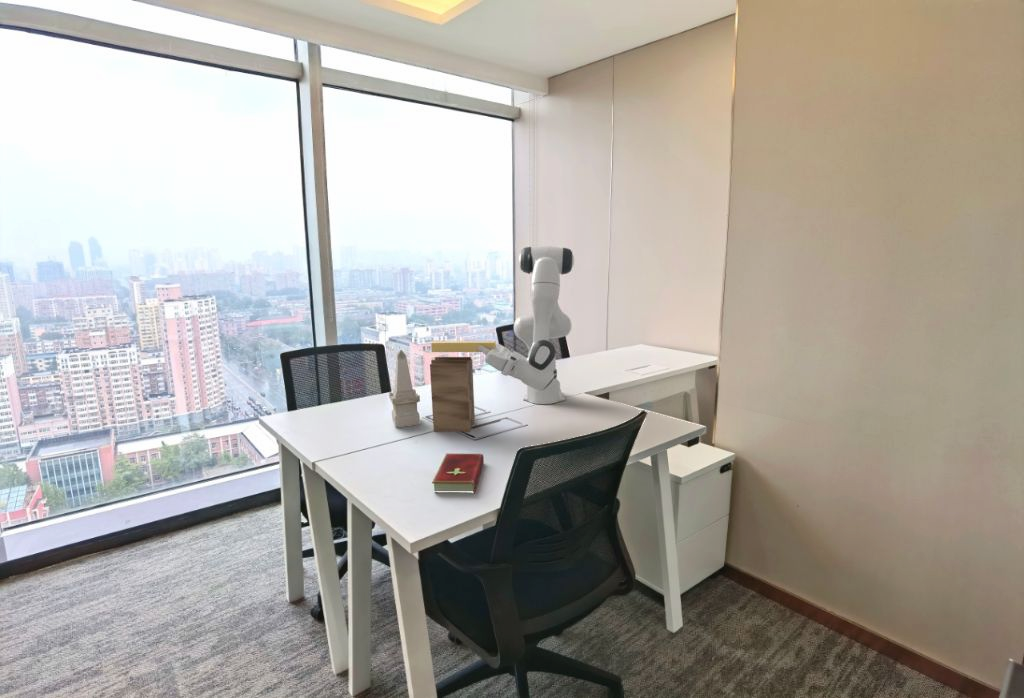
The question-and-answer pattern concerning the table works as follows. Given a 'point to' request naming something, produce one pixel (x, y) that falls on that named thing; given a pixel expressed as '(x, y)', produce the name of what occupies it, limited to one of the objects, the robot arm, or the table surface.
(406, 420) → the miniature monument
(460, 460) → the hardcover book
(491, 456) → the table surface
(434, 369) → the stand
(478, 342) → the yellow wooden bar
